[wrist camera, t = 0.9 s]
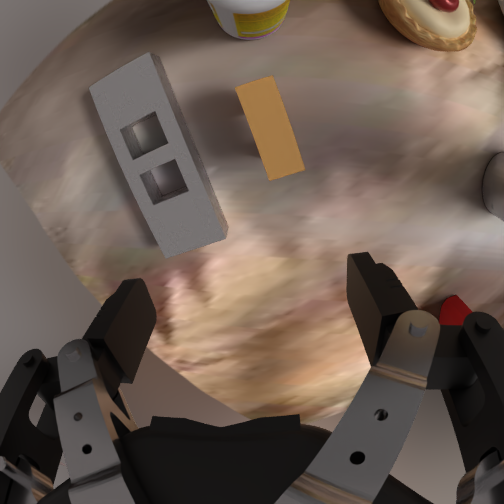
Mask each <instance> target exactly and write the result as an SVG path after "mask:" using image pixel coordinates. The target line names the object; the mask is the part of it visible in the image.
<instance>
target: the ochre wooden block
mask: <svg viewBox="0 0 504 504" xmlns="http://www.w3.org/2000/svg"><path fill="white" fill-rule="evenodd" d="M235 89H236V92H237V95H238V97H239V100H240V102H241V105H242V108H243V110H244V113H245V115H246V118H247V121H248V123H249V126H250V129H251V131H252V134H253V137H254V139H255V142H256V145H257V148H258V150H259V153H260V156H261V159H262V161H263V164H264V167H265V170H266V173H267V176H268V178H269V181H271V180H274V179H278V178H281V177H284V176H287V175H290V174H293V173H297V172H300V171H303V170H305V167H304V164H303V161H302V158H301V155H300V152H299V148H298V145H297V142H296V139H295V136H294V133H293V130H292V127H291V124H290V121H289V119H288V116H287V113H286V110H285V107H284V104H283V102H282V99H281V96H280V93H279V91H278V88H277V85H276V83H275V80H274V77H273V75H272V76H268V77H265V78H262V79H258V80H255V81H252V82H249V83H246V84H243V85H240V86H237V87H235Z"/></svg>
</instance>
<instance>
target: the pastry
mask: <svg viewBox="0 0 504 504" xmlns="http://www.w3.org/2000/svg"><path fill="white" fill-rule="evenodd" d="M378 2H379V5H380V7H381V9H382V11H383V13H384V15H385V16H386V18H387V19H388V20H389V22H390V23H391V24H392V25H393V26H394V27H395V28H396V29H397V30H398V31H399V32H400V33H401V34H402V35H403V36H405V37H406V38H408V39H409V40H411V41H413V42H414V43H416V44H418V45H421V46H423V47H426V48H429V49H432V50H436V51H447V52H448V51H461V50H463V49H465V48H467V47H468V46H469V45H470V44H471V43H472V42H473V39H474V37H475V34H476V31H477V27H476V26H475V23H476V16H475V15H474V13H473V4H472V3H471V1H470V0H378ZM473 2H474V4H475V0H473Z"/></svg>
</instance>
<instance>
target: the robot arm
mask: <svg viewBox="0 0 504 504" xmlns="http://www.w3.org/2000/svg"><path fill="white" fill-rule="evenodd" d="M482 192H483V199H484V203H485V205H486V208H487V209H488V210H489V212H491V213H492V214H494V215H495V216H497V217H498V218H500V219H501V220H502V221H504V152H502V153H499V154H497V155H495V156H494V157H493V158H492V160H491V161H490V163H489V164H488V166H487V169H486V171H485V175H484V179H483V188H482ZM347 299H348V304H349V307H350V309H351V312H352V314H353V317H354V320H355V322H356V325H357V328H358V331H359V333H360V336H361V339H362V342H363V345H364V348H365V350H366V353H367V356H368V359H369V362H370V365H371V369H370V370H369V372H368V374H367V376H366V378H365V379H364V381H363V383H362V385H361V387H360V388H359V390H358V392H357V394H356V395H355V397H354V399H353V401H352V402H351V404H350V406H349V407H348V409H347V411H346V412H345V414H344V416H343V417H342V419H341V420H340V422H339V424H338V425H337V426H336V428H335V430H334V431H333V432H330V431H328V430H326V429H323V428H320V427H316V426H311V425H306V424H300V415H299V414H297V415H287V416H276V417H263V418H257V419H254V420H250V421H246V422H243V423H238V424H234V425H230V426H225V427H216V426H212V425H208V424H204V423H200V422H197V421H193V420H189V419H186V418H171V417H157V416H153V417H152V420H151V424H150V426H147V427H143V428H139V429H138V427H137V425H136V424H135V421H134V419H133V417H132V414H131V412H130V410H129V408H128V405H127V403H126V401H125V398H124V396H123V393H122V391H121V390H120V389H119V386H120V383H130V384H132V383H133V381H134V378H135V375H136V372H137V370H138V367H139V364H140V362H141V359H142V357H143V354H144V351H145V349H146V346H147V344H148V341H149V339H150V336H151V334H152V331H153V329H154V326H155V324H156V310H155V307H154V304H153V302H152V300H151V297H150V295H149V292H148V290H147V287H146V285H145V282H144V281H143V279H141V278H137V279H128V280H124V281H123V282H122V283H121V285H120V286H119V288H118V289H117V291H116V292H115V293H114V294H113V295H111V296H110V297H109V298H108V299H107V300H106V301H105V303H104V304H103V306H102V307H101V310H99V312H98V314H97V317H95V318H94V320H93V322H92V323H91V325H90V326H89V328H88V330H87V331H86V333H85V335H84V336H83V338H82V339H75V340H72V341H71V342H68V343H67V344H65V345H64V346H63V347H62V349H61V350H60V351H59V353H58V356H56V357H51V358H47V359H46V357H45V356H44V354H43V353H42V352H41V350H39V349H32V350H29V351H27V352H26V353H25V354H24V355H22V357H21V358H20V359H19V361H18V362H17V365H16V366H15V367H14V370H13V371H12V373H11V374H10V376H9V378H8V380H7V382H6V384H5V385H4V387H3V389H2V391H1V393H0V504H433V503H432V502H430V501H429V500H427V499H425V498H424V497H422V496H421V495H419V494H418V493H416V492H415V491H413V490H412V489H410V488H409V487H407V486H406V485H404V484H403V483H401V482H400V481H399V480H397V479H396V478H394V477H393V476H392V475H390V474H389V473H390V471H391V469H392V467H393V465H394V463H395V461H396V459H397V457H398V455H399V453H400V451H401V449H402V447H403V444H404V442H405V440H406V438H407V435H408V433H409V431H410V428H411V426H412V424H413V421H414V419H415V416H416V414H417V411H418V408H419V405H420V403H421V400H422V397H423V395H424V391H425V389H440V390H441V392H442V395H443V398H444V401H445V403H446V406H447V409H448V412H449V415H450V418H451V421H452V424H453V427H454V431H455V434H456V437H457V441H458V444H459V448H460V451H461V455H462V459H463V463H464V467H465V470H466V473H465V474H464V476H463V477H462V478H461V480H460V482H459V484H458V487H457V500H456V504H504V330H503V329H502V327H501V326H500V324H499V323H498V322H497V320H496V319H495V318H494V317H492V316H491V315H489V314H487V313H484V312H472V313H470V314H468V315H467V316H466V317H465V319H464V322H463V324H462V325H441V324H439V322H438V320H437V319H436V318H435V317H434V316H433V315H432V314H430V313H428V312H425V311H422V310H418V308H417V307H416V305H415V303H414V302H413V300H412V299H411V297H410V296H409V294H408V292H407V291H406V289H405V288H404V287H403V286H402V283H401V282H400V280H398V277H397V276H396V274H395V273H394V271H393V270H392V269H391V268H389V267H388V266H386V265H385V264H383V263H378V264H376V263H375V262H374V260H373V259H372V257H371V256H370V254H369V253H368V252H362V253H354V254H349V255H348V258H347ZM37 394H38V396H39V397H40V398H41V399H42V400H43V401H44V402H45V403H46V405H45V407H44V409H43V412H42V414H41V417H40V419H39V422H38V424H37V427H35V426H34V425H33V424H32V423H31V421H30V419H29V410H30V407H31V405H32V403H33V401H34V399H35V396H36V395H37ZM62 453H64V457H65V461H66V465H67V469H68V472H69V476H70V478H69V479H67V480H66V481H65V482H63V483H62V484H61V485H59V486H58V487H57V488H56V489H54V490H53V484H54V481H55V477H56V473H57V470H58V466H59V463H60V459H61V456H62Z"/></svg>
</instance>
